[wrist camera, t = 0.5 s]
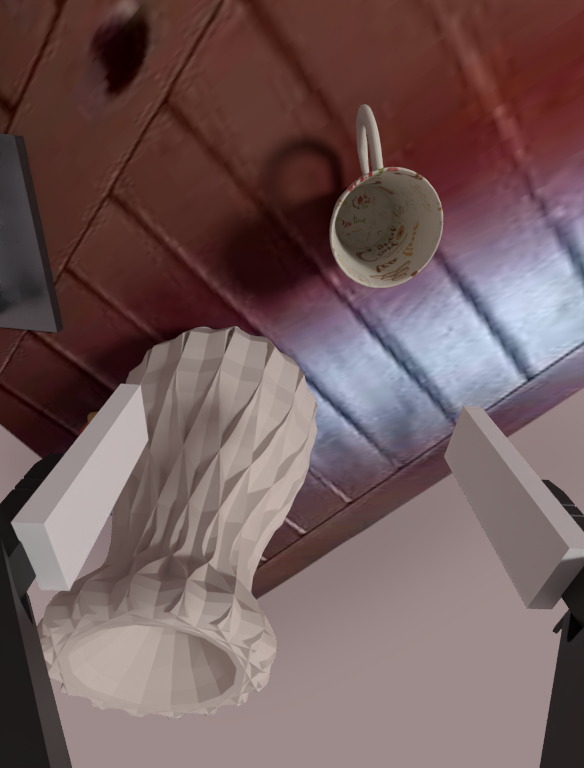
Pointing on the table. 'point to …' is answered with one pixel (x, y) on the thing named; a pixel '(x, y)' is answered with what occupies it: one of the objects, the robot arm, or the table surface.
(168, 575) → the vase
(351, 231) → the mug
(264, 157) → the table surface
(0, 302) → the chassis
